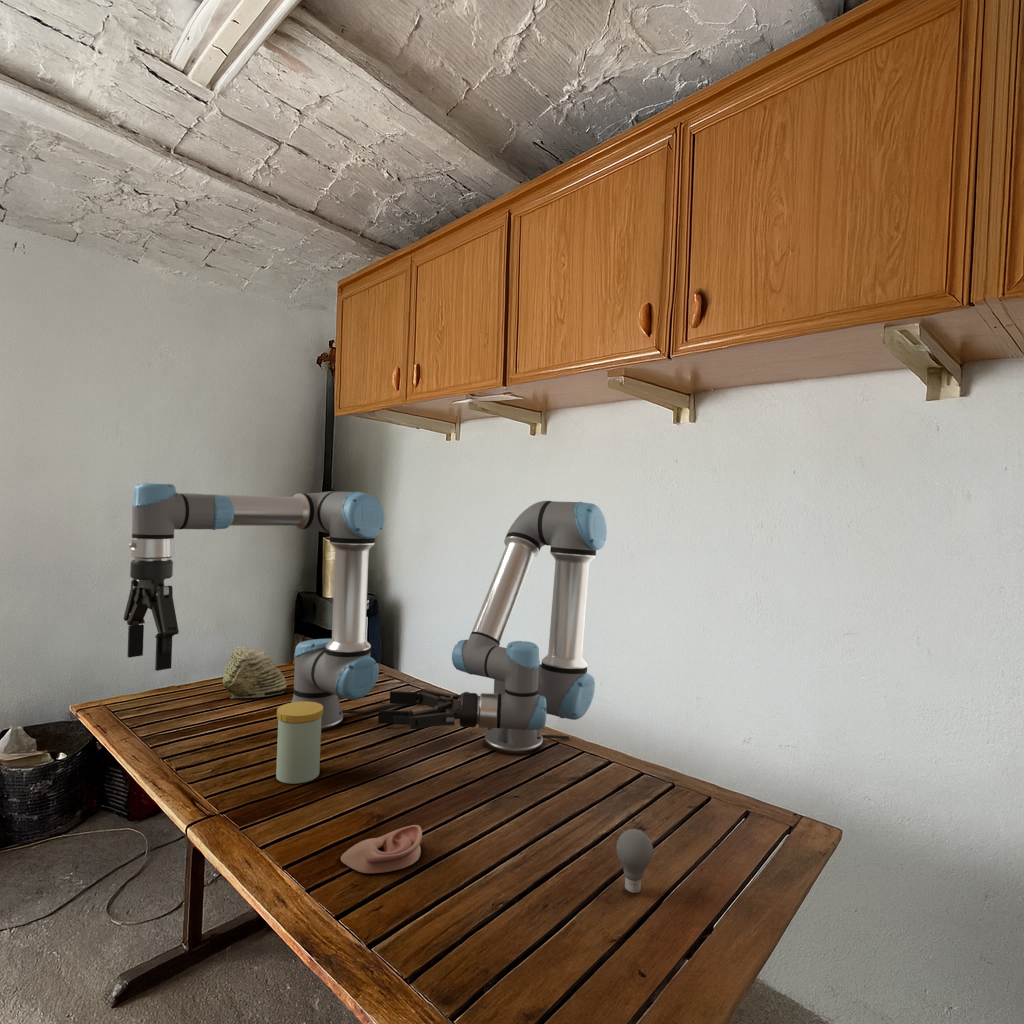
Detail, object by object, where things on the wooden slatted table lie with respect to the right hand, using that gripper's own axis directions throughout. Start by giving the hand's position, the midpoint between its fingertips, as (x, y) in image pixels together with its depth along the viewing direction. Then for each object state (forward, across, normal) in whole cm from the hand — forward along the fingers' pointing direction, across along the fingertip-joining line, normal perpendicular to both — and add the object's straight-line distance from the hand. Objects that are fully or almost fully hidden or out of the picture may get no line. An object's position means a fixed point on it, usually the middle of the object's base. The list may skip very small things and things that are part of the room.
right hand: (384, 706), depth 144 cm
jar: (+19, 0, -16) cm, 25 cm away
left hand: (+46, -14, +12) cm, 49 cm away
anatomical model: (-6, -32, -16) cm, 36 cm away
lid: (+19, 0, -2) cm, 19 cm away
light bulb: (-50, -39, -16) cm, 65 cm away
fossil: (+50, +55, -16) cm, 76 cm away
